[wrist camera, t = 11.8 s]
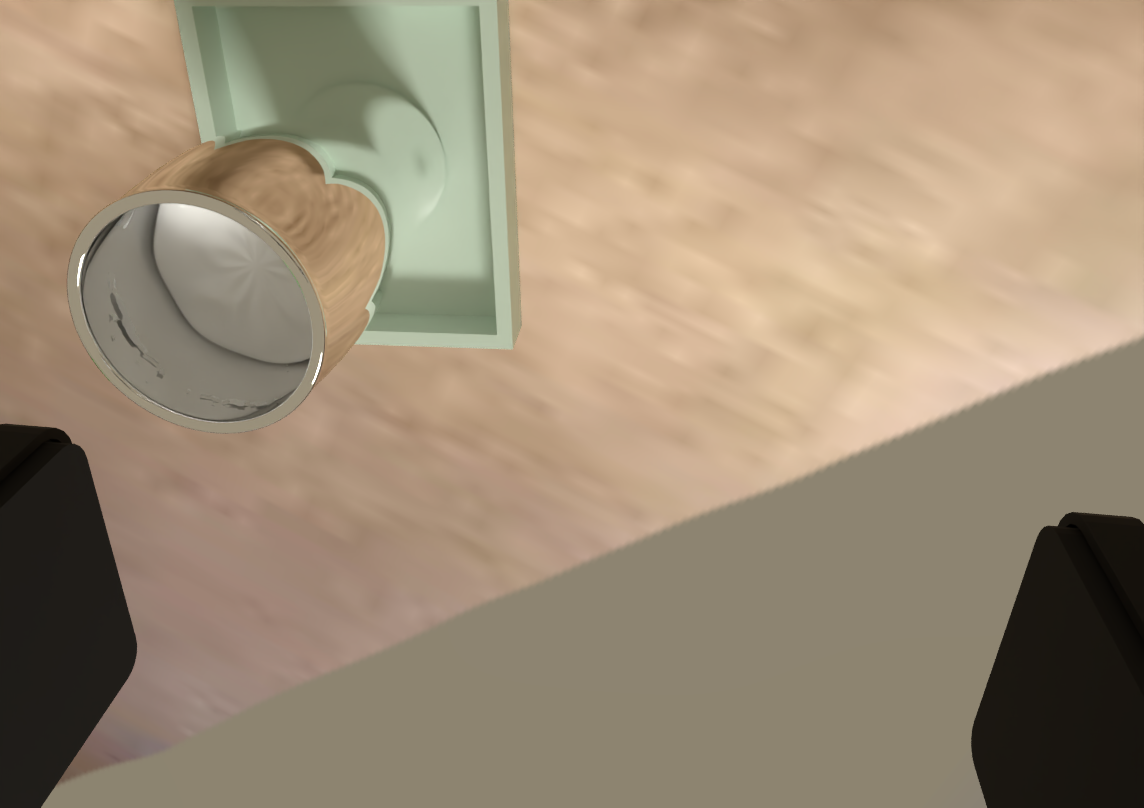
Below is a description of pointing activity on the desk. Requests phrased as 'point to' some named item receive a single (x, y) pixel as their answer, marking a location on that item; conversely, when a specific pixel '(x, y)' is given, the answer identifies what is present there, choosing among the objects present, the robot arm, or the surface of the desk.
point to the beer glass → (254, 258)
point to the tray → (431, 82)
